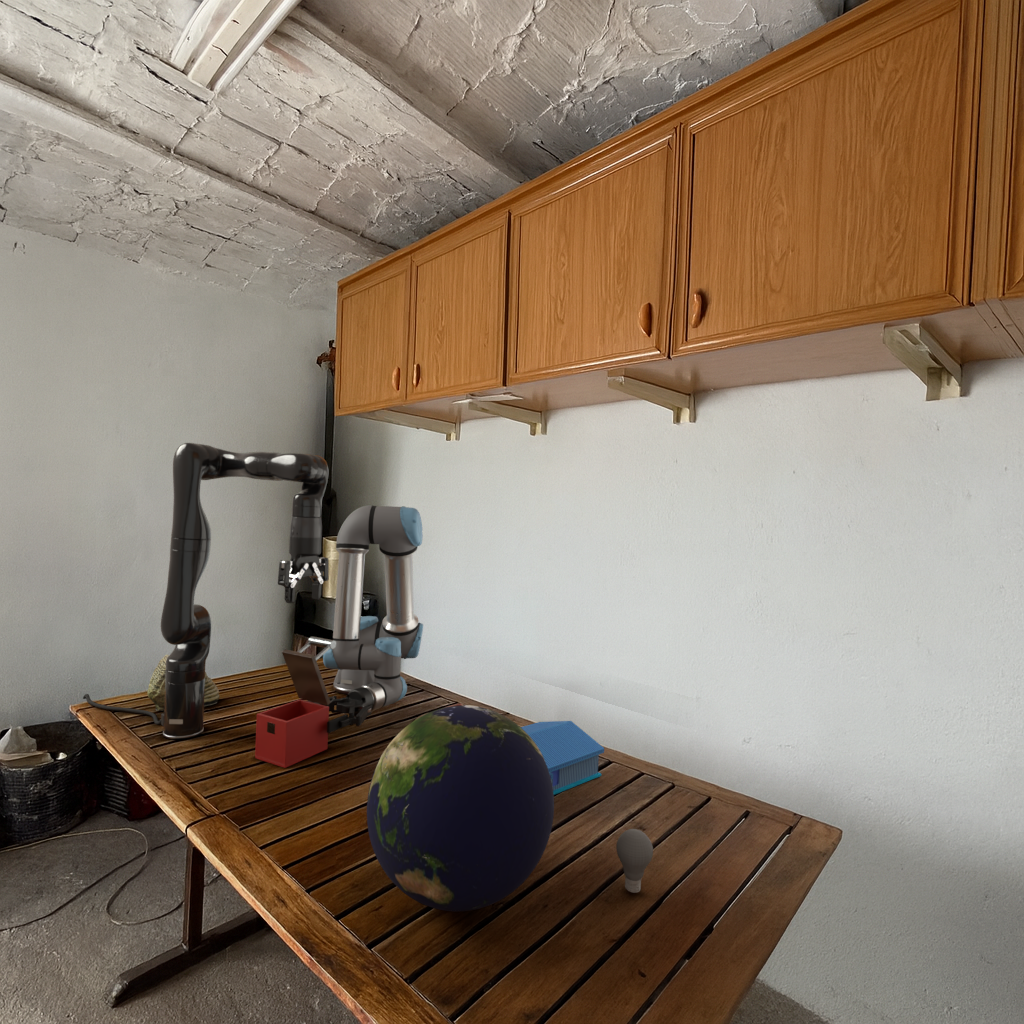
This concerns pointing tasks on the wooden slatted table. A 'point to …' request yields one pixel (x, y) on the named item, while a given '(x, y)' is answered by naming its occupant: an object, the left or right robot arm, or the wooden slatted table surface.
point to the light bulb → (634, 857)
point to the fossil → (158, 687)
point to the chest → (291, 732)
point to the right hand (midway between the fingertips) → (307, 721)
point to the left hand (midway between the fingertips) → (303, 600)
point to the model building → (566, 753)
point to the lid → (308, 671)
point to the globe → (460, 808)
